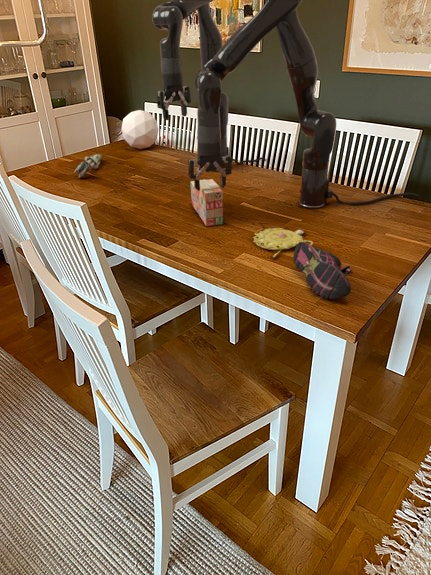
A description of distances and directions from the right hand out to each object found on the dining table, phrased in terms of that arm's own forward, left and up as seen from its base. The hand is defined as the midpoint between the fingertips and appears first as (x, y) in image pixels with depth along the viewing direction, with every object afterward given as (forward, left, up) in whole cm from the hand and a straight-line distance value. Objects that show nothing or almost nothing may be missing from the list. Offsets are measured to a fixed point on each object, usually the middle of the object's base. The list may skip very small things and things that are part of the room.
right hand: (210, 188), depth 149 cm
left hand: (+1, -36, +16) cm, 40 cm away
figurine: (+33, -79, -12) cm, 86 cm away
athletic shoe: (-15, +50, -12) cm, 54 cm away
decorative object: (-15, +24, -12) cm, 31 cm away
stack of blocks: (-1, -7, -12) cm, 14 cm away
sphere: (+3, -107, -12) cm, 107 cm away
